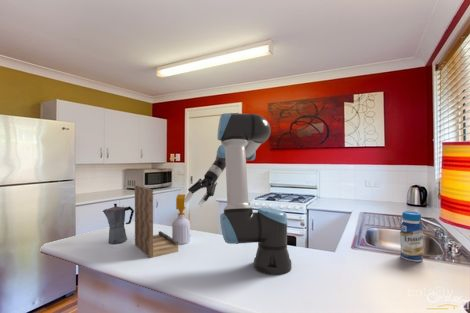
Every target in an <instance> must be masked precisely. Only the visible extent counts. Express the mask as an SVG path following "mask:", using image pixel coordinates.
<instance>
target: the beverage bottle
mask: <svg viewBox="0 0 470 313" xmlns="http://www.w3.org/2000/svg"><path fill="white" fill-rule="evenodd" d="M421 214H422V213H420V212H416V211H409V210H408V211H407V210H406V211H402V215H401V216H402V217H401V218H402V222H401V225H400V229H401V230H400V232H399V234H400V258H402V259H404V260H406V261H409V262H416V263H417V262H422V261H423V259H424V254H423V253H424V233H423V231H424V228H423V226H422V224H421V223H420V222H421V221H422V215H421Z"/></svg>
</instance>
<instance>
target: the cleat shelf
mask: <svg viewBox="0 0 470 313" xmlns="http://www.w3.org/2000/svg"><path fill="white" fill-rule="evenodd" d="M134 245H135V246H136V247H137V248H138V249H139V250H140V251H141V252H143V254H145V255H146V256H147V257H148V258H149V259H151V258H155V257H156V258H157V257H160V256H164V255H169V254H173V253H178V252H179V244H178V241H176V240H174V239H173V238H172V237H171V236H170V235H168V234H167V233H164V232H163V231H161V230H160V231H158V234H155V235H154V190H153V189H151V188H148V187H145V186H142V185H137V184H136V185H134Z"/></svg>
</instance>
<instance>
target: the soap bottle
mask: <svg viewBox="0 0 470 313" xmlns="http://www.w3.org/2000/svg"><path fill="white" fill-rule="evenodd" d="M185 197H186V194H177V196H176V200H175V202H176V204H175V208H176V210H178V211H179V212H178V213H177V218H175V219H174V220H173V221H172V226H171V230H172V231H171V232H172V233H171V235H172V237H171V238H173V239H174V240H176V241H178V245H186V244H188V243H190V242H191V222H190V220H189V219H187V218H186V217H185V212H184V210H185V209H186V206H185V202H184V199H185Z"/></svg>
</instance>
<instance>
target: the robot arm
mask: <svg viewBox="0 0 470 313" xmlns="http://www.w3.org/2000/svg"><path fill="white" fill-rule="evenodd" d="M270 125H271V124H270V123H269V121H268V120H267V119H266V118H265V117H264V116H262V115H260V114H257V113H241V112H239V113H233V112H230V113H229V112H226V113H222V114H220V117H219V122H218V126H217V140H218V141H220V144H221V145H219V146H218V147H217V151H216V157H215V160H214V161H213V163H212V164H211V165H210V167H209V168H208V170H207V171H206V173H205V174H204V178H203V179H202V178H199V179H198V181H196V182H195V183H194V184H192V185H191V186H190V187H189V188H188V189H187V190H188V193H187V195H185V198H184V204H188V203H189V202H190V200H191V199H192V197H193V196H194V193H196V192H198V191H199V190H201V189H206V192H205V193H204V195H203V196H202V198H201V199H200V200H199V202H198V205H199V206H200V207H203V206H204V205H205V203H206V202H207V201H208V200H209V198H210V197H213V196H214V194H215V192H216V187H217V185H218V182H217V180H218V179H219V178H220V176H221V174H222V173H223V171H224V170H225V176H226V177H225V180H226V183H225V184H226V202H227V204H226V206H225V207H224V208H223V213H221V214H220V216H219V220H220V223H219V224H220V229H221V234H222V237H223V241H224V242H225V243H226V244H228V245H229V244H230V245H232V244H234V245H238V244H252V243H257V244H258V245H257V250H256V253H255V257H254V259H253V268H254V269H255V270H256V271H258V272H260V273H262V274H266V275H283V274H286V273H289V272H291V270H292V267H293V266H292V259H291V258H290V254H289V250H288V218H287V217H288V216H287V214H286V212H285V211H284V210H280V209H277V208H271V207H259V208H258V209H257V211H255V212H254V210H253V207H252V206H251V205H250V203H249V190H248V189H249V188H248V172H247V162H249V161H254V160H255V159H256V154H257V153H256V151H257V150H258V148H259V147H260V146H261V145H262V144H264V143H265V142H266V141H268V139H269V138H270V136H271V130H272V129H271V126H270Z"/></svg>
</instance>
